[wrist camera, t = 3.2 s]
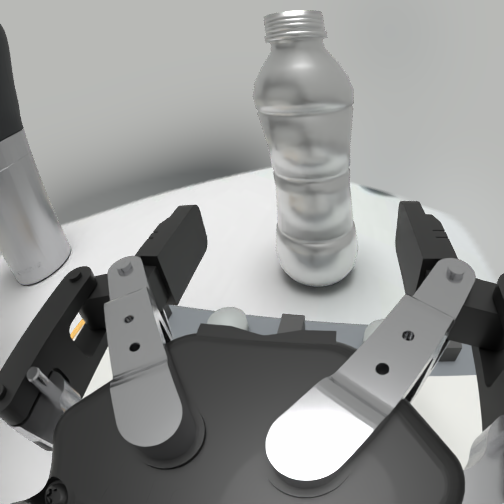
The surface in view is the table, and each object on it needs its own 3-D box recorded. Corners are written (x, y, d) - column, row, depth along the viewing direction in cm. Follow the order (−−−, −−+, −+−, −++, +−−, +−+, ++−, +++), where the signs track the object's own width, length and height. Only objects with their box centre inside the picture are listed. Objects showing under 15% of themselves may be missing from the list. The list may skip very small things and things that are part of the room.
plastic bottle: (328, 309, 23) (307, 2, 11) (262, 276, 27) (217, 24, 15) (369, 264, 26) (364, 13, 14) (308, 240, 30) (283, 22, 19)
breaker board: (28, 424, 16) (6, 406, 15) (110, 303, 27) (98, 282, 25) (477, 534, 7) (502, 528, 5) (470, 338, 17) (482, 313, 16)
